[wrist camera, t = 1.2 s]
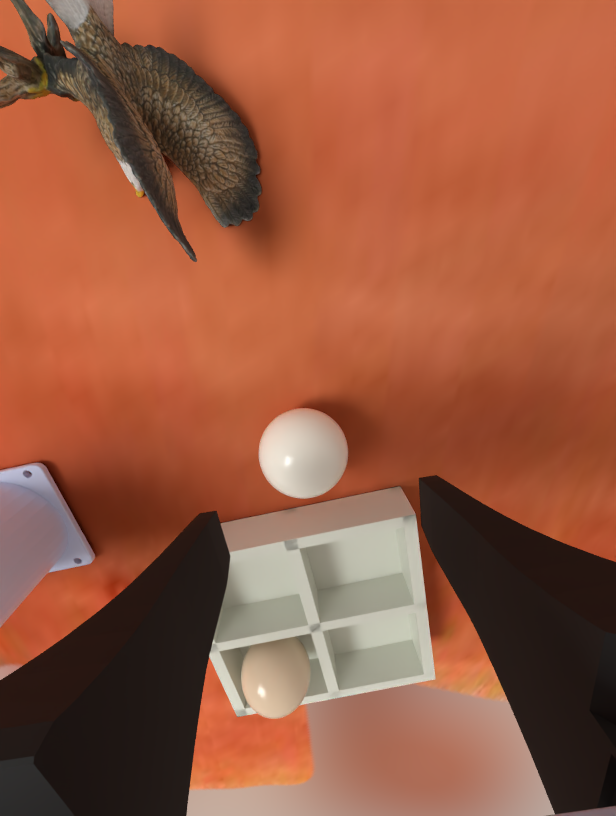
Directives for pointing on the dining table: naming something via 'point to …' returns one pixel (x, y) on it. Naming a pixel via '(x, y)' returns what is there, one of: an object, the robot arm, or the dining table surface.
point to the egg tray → (328, 595)
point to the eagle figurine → (140, 110)
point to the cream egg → (303, 453)
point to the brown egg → (276, 677)
